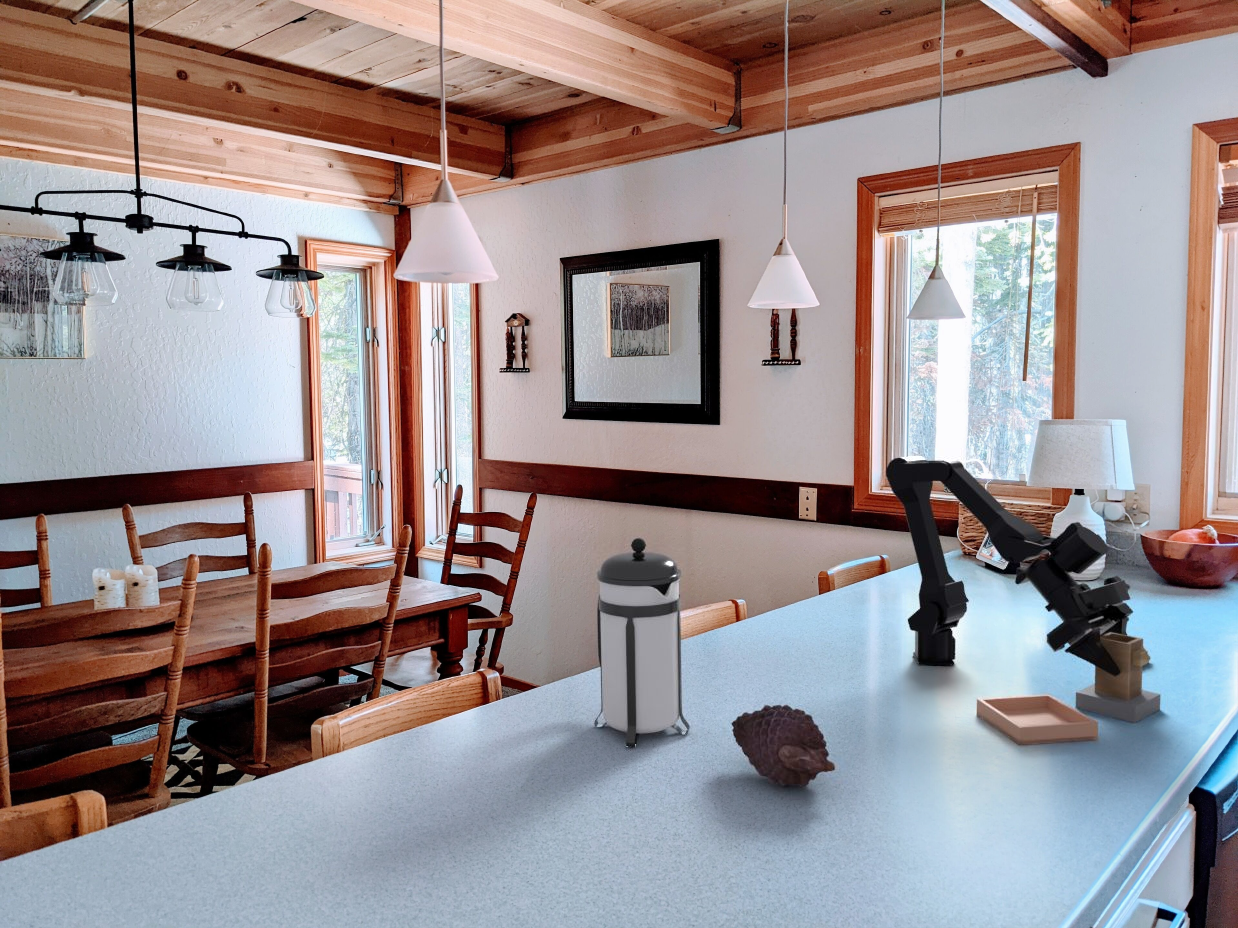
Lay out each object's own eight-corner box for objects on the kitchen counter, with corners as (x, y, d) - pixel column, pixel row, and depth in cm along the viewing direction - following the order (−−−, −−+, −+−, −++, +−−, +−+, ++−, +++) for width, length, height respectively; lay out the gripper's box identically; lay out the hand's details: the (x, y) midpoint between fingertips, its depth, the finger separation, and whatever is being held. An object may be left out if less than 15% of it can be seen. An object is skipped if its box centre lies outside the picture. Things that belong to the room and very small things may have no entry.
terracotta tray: (976, 714, 141) (976, 698, 141) (1048, 709, 142) (1049, 694, 142) (1019, 744, 129) (1019, 727, 129) (1097, 739, 130) (1098, 722, 130)
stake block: (1075, 706, 143) (1076, 667, 143) (1101, 694, 149) (1102, 656, 148) (1135, 722, 136) (1136, 681, 136) (1160, 709, 142) (1161, 668, 141)
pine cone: (710, 766, 124) (710, 696, 123) (763, 749, 129) (762, 682, 128) (804, 815, 109) (804, 736, 108) (858, 793, 115) (859, 718, 114)
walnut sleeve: (1094, 692, 143) (1096, 637, 142) (1108, 685, 146) (1110, 631, 145) (1135, 702, 138) (1137, 646, 137) (1149, 695, 141) (1151, 640, 140)
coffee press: (701, 715, 143) (699, 531, 140) (675, 754, 128) (672, 548, 125) (600, 704, 149) (597, 527, 146) (564, 741, 134) (559, 544, 131)
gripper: (1067, 569, 138) (1141, 654, 130) (1122, 554, 149) (1193, 631, 142) (1018, 609, 145) (1085, 693, 137) (1073, 592, 156) (1138, 668, 148)
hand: (1127, 670), depth 141 cm, fingers open, 6 cm apart
